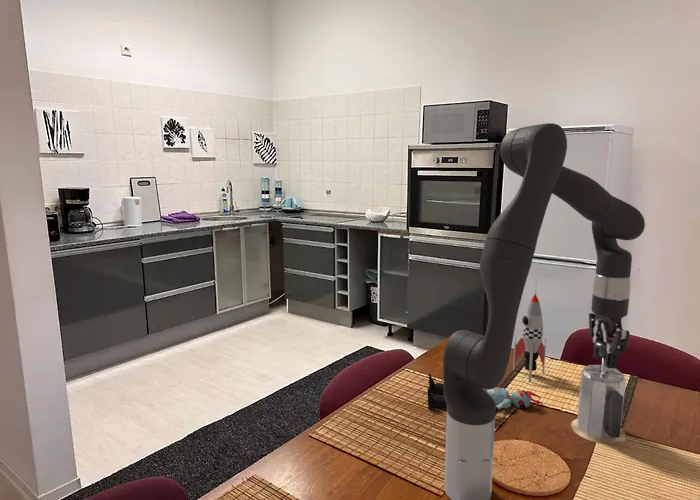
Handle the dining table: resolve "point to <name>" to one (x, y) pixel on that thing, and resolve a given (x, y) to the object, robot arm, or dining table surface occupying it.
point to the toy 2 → (531, 338)
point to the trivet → (618, 440)
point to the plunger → (602, 353)
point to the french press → (601, 403)
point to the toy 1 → (498, 394)
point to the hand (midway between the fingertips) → (604, 362)
